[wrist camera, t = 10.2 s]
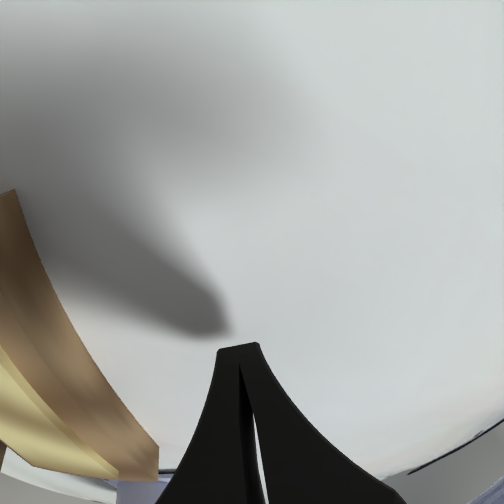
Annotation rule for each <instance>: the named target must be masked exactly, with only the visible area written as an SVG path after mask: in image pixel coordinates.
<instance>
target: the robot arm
mask: <svg viewBox="0 0 504 504" xmlns="http://www.w3.org/2000/svg"><path fill="white" fill-rule="evenodd" d="M253 414H254V418H255V423H256V427H257V434H258V440H259V446H260V452H261V458H262V464H263V470H264V476H265V482H266V489H267V495H268V501H269V504H406V502H405V501H404V500H403V498H402V497H401V496H400V495H399V494H398V493H397V492H396V491H395V490H394V489H393V488H391V487H389V486H388V485H386V484H384V483H383V482H381V481H379V480H378V479H376V478H375V477H373V476H372V475H370V474H369V473H367V472H366V471H365V470H363V469H362V468H361V467H359V466H358V465H356V464H355V463H354V462H353V461H351V460H350V459H349V458H348V457H346V456H345V455H344V454H343V453H342V452H340V451H339V450H338V449H337V448H336V447H335V446H333V445H332V444H331V443H330V442H329V441H328V440H327V439H326V438H325V437H324V436H323V435H322V434H321V433H320V432H319V431H318V430H317V429H316V428H315V427H314V426H313V425H312V424H311V423H310V422H309V421H308V420H307V418H306V417H305V416H304V415H303V414H302V413H301V412H300V410H299V409H298V408H297V407H296V405H295V404H294V403H293V402H292V400H291V399H290V398H289V396H288V395H287V394H286V392H285V391H284V389H283V388H282V386H281V385H280V383H279V382H278V380H277V379H276V377H275V376H274V374H273V373H272V371H271V369H270V367H269V365H268V364H267V362H266V360H265V358H264V355H263V353H262V351H261V348H260V345H259V343H257V342H252V343H247V344H242V345H237V346H232V347H227V348H221V349H219V350H218V351H217V355H216V362H215V368H214V372H213V377H212V381H211V385H210V388H209V392H208V395H207V399H206V402H205V405H204V408H203V411H202V414H201V417H200V419H199V422H198V425H197V427H196V430H195V432H194V435H193V437H192V439H191V442H190V444H189V446H188V448H187V450H186V452H185V454H184V456H183V458H182V460H181V462H180V464H179V466H178V468H177V469H176V471H175V473H174V474H158V482H142V481H123V480H111V479H102V480H103V481H105V482H106V483H108V484H109V485H111V486H113V487H114V488H116V489H117V499H116V504H266V503H265V499H264V494H263V489H262V485H261V480H260V475H259V470H258V463H257V453H256V442H255V430H254V419H253ZM100 479H101V478H100ZM467 504H504V475H503V476H502V477H501V478H500V479H498V480H497V481H496V482H495V483H494V484H492V486H491V487H490V488H488V489H487V490H486V491H484V492H483V493H481V494H480V495H479V496H477V497H476V498H474V499H473V500H471V501H470V502H468V503H467Z"/></svg>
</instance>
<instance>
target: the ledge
mask: <svg viewBox="0 0 504 504" xmlns="http://www.w3.org/2000/svg"><path fill="white" fill-rule="evenodd" d="M6 448H7V446H6V445H5V444H4V443H3V442H2V441H1V440H0V471H1V467H2V463H3V459H4V455H5V452H6Z"/></svg>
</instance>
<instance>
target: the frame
mask: <svg viewBox="0 0 504 504" xmlns="http://www.w3.org/2000/svg"><path fill="white" fill-rule="evenodd" d="M0 440H1V441H2V442H3V443H4V444H5V445H6V446H8V447H9V448H10V449H11V450H12V451H14V452H15V453H16V454H17V455H19V456H20V457H21V458H22V459H24V460H25V461H26V462H28V463H29V464H30V465H32V466H34V467H38V468H42V469H47V470H51V471H56V472H61V473H67V474H73V475H79V476H86V477H93V478H101V479H111V480H123V481H142V482H158V464H159V446H158V445H157V444H156V443H155V442H154V440H153V439H152V438H151V437H150V436H149V435H148V433H147V432H146V431H145V430H144V429H143V427H142V426H141V425H140V424H139V423H138V421H137V420H136V419H135V418H134V416H133V415H132V414H131V413H130V411H129V410H128V409H127V407H126V406H125V405H124V403H123V402H122V401H121V399H120V398H119V397H118V395H117V394H116V393H115V391H114V390H113V388H112V387H111V386H110V384H109V383H108V381H107V380H106V378H105V377H104V375H103V374H102V372H101V371H100V369H99V368H98V366H97V365H96V363H95V362H94V360H93V359H92V357H91V356H90V354H89V352H88V351H87V349H86V347H85V346H84V344H83V342H82V341H81V339H80V337H79V336H78V334H77V332H76V331H75V329H74V327H73V325H72V323H71V322H70V320H69V318H68V316H67V314H66V312H65V311H64V309H63V307H62V305H61V303H60V301H59V299H58V297H57V295H56V293H55V291H54V289H53V287H52V285H51V283H50V280H49V278H48V276H47V274H46V272H45V269H44V267H43V265H42V263H41V260H40V258H39V256H38V253H37V251H36V248H35V246H34V243H33V241H32V238H31V236H30V233H29V230H28V228H27V225H26V222H25V219H24V216H23V213H22V210H21V207H20V204H19V201H18V198H17V195H16V191H15V189H13V190H11V191H9V192H6V193H4V194H2V195H0Z"/></svg>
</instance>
